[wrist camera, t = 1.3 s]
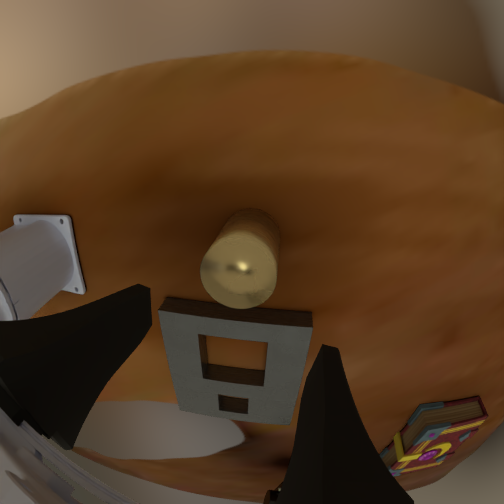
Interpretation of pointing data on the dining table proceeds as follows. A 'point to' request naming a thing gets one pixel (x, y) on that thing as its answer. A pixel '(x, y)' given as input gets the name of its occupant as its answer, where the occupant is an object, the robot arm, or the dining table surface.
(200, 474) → the dining table surface
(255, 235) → the brass fitting
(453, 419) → the decorative book
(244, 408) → the grey plate with cutouts
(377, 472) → the robot arm
